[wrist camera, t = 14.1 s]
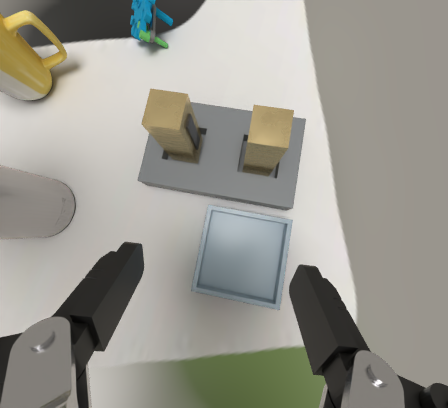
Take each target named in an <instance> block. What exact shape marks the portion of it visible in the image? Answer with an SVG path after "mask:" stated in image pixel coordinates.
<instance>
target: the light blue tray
mask: <svg viewBox="0 0 448 408" xmlns="http://www.w3.org/2000/svg"><path fill="white" fill-rule="evenodd" d="M292 221H293V220H289V219H283V218H278V217H272V216H267V215H262V214H256V213H251V212H245V211H240V210H234V209H229V208H223V207H218V206H213V205H208V209H207V214H206V219H205V224H204V229H203V234H202V239H201V244H200V249H199V254H198V259H197V264H196V269H195V273H194V278H193V283H192V288H191V291H193V292H198V293H203V294H207V295H212V296H216V297H221V298H226V299H230V300H235V301H240V302H244V303H249V304H253V305H258V306H263V307H267V308H272V309H276V310H280V303H281V296H282V290H283V283H284V276H285V269H286V262H287V255H288V248H289V242H290V235H291V228H292Z"/></svg>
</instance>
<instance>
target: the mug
mask: <svg viewBox="0 0 448 408" xmlns="http://www.w3.org/2000/svg"><path fill="white" fill-rule="evenodd" d="M27 24H31V25H34V26H35V27H36V28H38V29H39V30H40V31H41V32H42V33H43V34H44V35H45V36H47V37H48V38H49V39H50V40H51V41H52V42H53V44H54V45H55V46H56V47H57V48H58V50H59V52H58V53H56V54H54V55H52V56H50V57H47V58H45V59H42V58H41V57H40V56H39V55H38V54H37V53H36V52H35V51H34V50H33V49H32V48H31V46H30V45H29V44H28V43H27V42H26V41H25V40H24V39H23V38H22V37H21V36H20V34H19V33H18V32H17V30H18V28H19V27H21V26H24V25H27ZM66 58H67V53H66V50H65V49H64V47H63V45H62V44H61V43H60V41H59V40H58V39H57V38H56V36H55V35H54V34H53V33H52V32H51V31H50V30H49V29H48V28H47V27H46V26H45V25H44V24H43V23H42V22H41V21H40V20H39V19H38V18H37V17H36V16H35V15H34V14H32V13H31V12H29V11H25V10H24V11H21V12H19V13H16V14H14V15H12V16H9V17H7V18H4V17H3V16H2V15H1V14H0V91H1V92H3V93H6V94H8V95H10V96H12V97H14V98H17V99H20V100H37V99H41V98H43V97H44V96H46V95H47V94H48V93H49V91H50V89H51V87H52V77H51V73H50V69H51V68H53V67H54V66H56V65H58V64H60V63H61V62H63V61H64V60H65V59H66Z"/></svg>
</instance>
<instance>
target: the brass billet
mask: <svg viewBox="0 0 448 408" xmlns="http://www.w3.org/2000/svg"><path fill="white" fill-rule="evenodd" d="M293 114H294V110H288V109H281V108H274V107H267V106H259V105H254V107H253V113H252V118H251V124H250V130H249V135H248V141H247V147H246V153H245V159H244V164H243V170H242V172H244V173H251V174H257V175H263V176H269V175H270V174H271V172H272V171H273V170H274V168H275V167H276V165H277V164H278V162H279V161H280V160H281V158H282V157H283V155H284V154H285V152H286V151H287V150H288V147H289V141H290V134H291V127H292V120H293Z"/></svg>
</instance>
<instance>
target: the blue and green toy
mask: <svg viewBox="0 0 448 408" xmlns="http://www.w3.org/2000/svg"><path fill="white" fill-rule="evenodd" d="M155 1H156V0H133V3H132V9H133V10H134V11H135V12H134V16H131V22H130V24H131V25H132V29H131V34H132V36H134V38H136V39H138V40H141V39H143V40H144V41H146V42H148V43H149V42H150V43H153V42H154V41H155V42H156V43H158V44H160V45H161V46H163V47H164V48H167V47H168V44H167V43H166V42H164V41H162V40H161V39H159V38H158V37H156V36H155V28H156V27H155V26H156V16H157V17H158V18H160V19H161V20H162V21H164V22H165V23H167V24H168V25H170V26H172V23H173V19H172V18H170V17H169V16H167V15H166V14H165V13H163V12H162V11H161V10H159V9H158V8H157V7H156V4H155ZM146 22H147V23H148V24H149V31H148V26H147V25H146Z"/></svg>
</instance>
